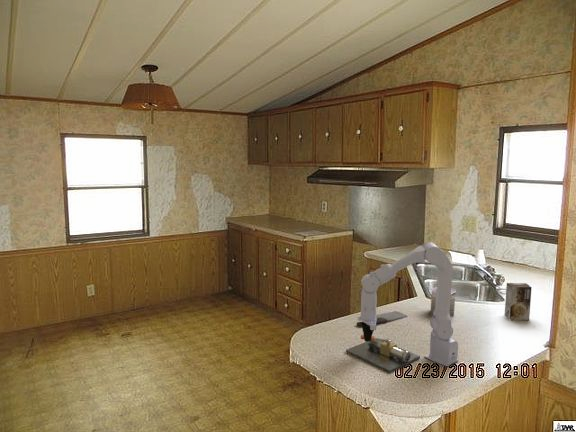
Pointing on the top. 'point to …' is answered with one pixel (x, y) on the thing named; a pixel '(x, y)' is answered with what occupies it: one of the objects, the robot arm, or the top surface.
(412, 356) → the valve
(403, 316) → the cleaver
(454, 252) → the top surface
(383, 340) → the lever
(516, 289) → the coffee box
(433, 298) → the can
